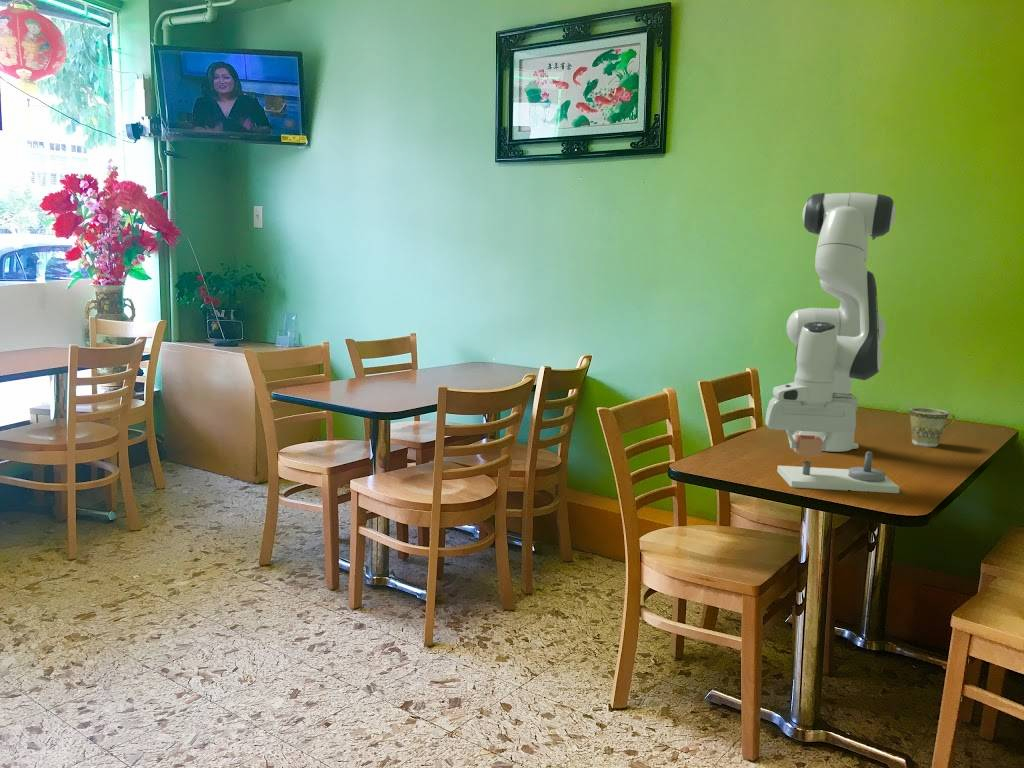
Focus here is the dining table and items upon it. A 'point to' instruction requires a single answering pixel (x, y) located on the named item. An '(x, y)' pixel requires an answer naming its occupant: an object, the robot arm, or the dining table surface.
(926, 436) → the ceramic cup
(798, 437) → the collar
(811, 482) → the board
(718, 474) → the dining table surface
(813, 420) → the robot arm
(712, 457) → the dining table surface
